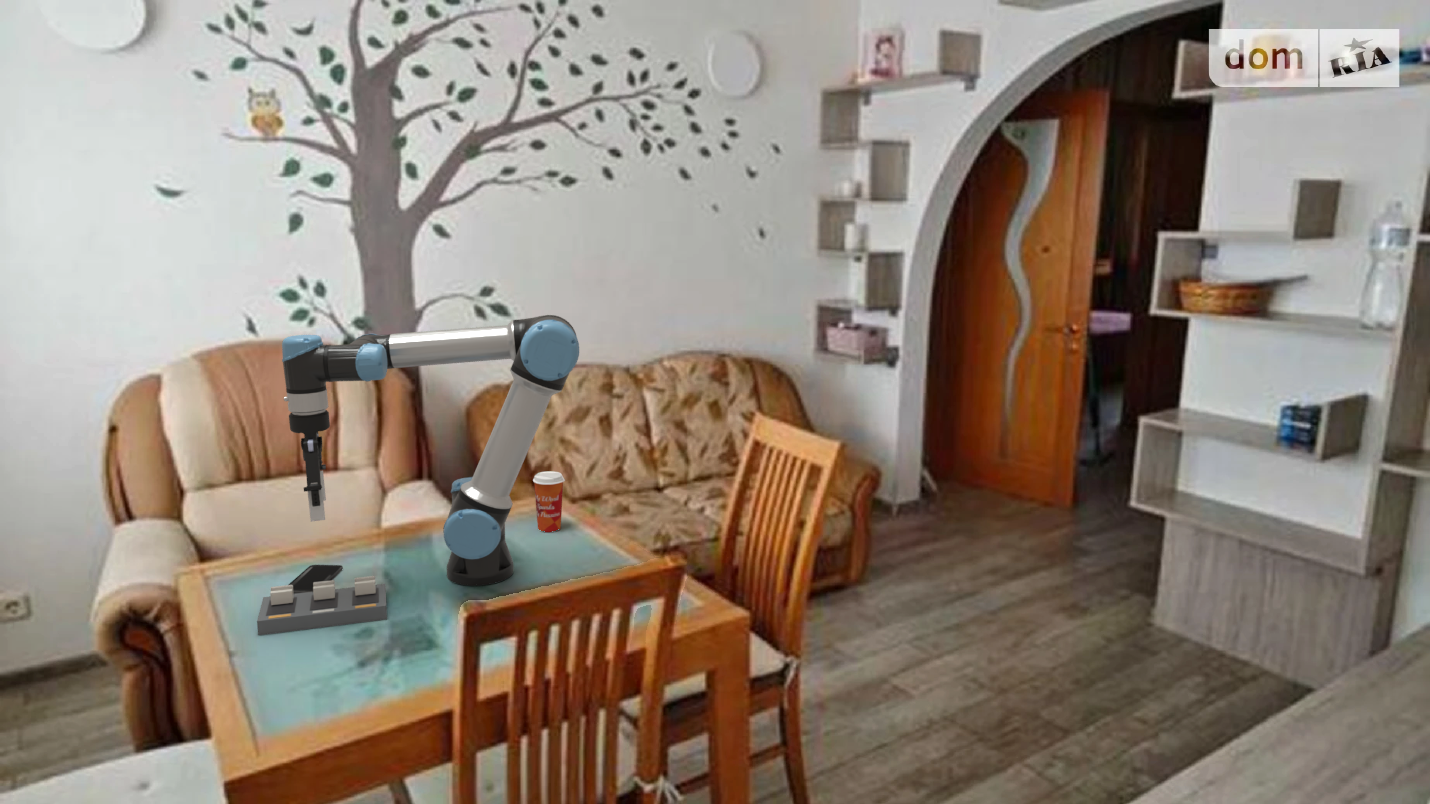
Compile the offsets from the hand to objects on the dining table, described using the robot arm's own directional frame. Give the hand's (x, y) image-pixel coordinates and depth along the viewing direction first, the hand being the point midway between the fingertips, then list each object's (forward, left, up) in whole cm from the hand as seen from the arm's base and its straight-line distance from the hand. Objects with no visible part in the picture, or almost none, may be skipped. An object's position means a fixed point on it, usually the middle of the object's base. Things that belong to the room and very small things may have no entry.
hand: (318, 510), depth 190 cm
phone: (+3, -14, -22) cm, 26 cm away
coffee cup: (-54, -33, -21) cm, 67 cm away
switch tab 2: (0, +4, -18) cm, 18 cm away
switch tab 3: (-8, +4, -18) cm, 20 cm away
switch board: (0, +6, -21) cm, 22 cm away
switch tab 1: (+8, +4, -18) cm, 20 cm away
